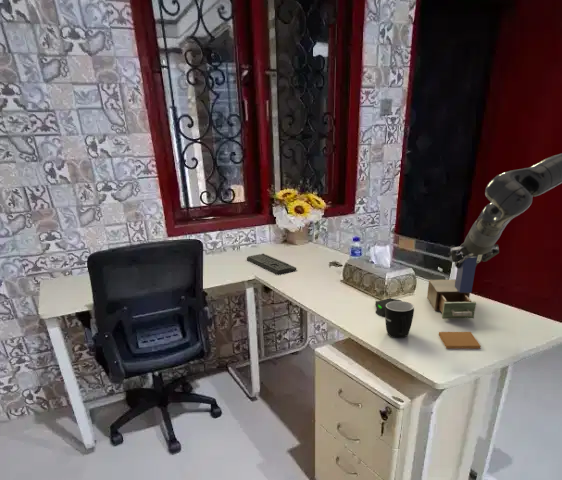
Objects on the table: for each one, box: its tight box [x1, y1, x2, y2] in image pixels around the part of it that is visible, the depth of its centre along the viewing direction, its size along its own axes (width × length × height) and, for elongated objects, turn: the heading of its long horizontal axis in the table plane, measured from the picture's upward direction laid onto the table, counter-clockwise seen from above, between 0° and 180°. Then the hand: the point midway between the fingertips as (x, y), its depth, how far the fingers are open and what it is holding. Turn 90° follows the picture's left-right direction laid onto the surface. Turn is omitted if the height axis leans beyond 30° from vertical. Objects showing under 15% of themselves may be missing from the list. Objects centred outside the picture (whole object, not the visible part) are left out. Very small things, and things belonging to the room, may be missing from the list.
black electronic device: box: [374, 297, 402, 318], centre depth 156 cm, size 11×16×4 cm
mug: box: [384, 300, 415, 339], centre depth 135 cm, size 12×9×10 cm
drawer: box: [438, 293, 477, 320], centre depth 147 cm, size 17×10×6 cm, turn 174°
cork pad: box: [438, 331, 481, 350], centre depth 131 cm, size 10×10×1 cm
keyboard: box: [246, 253, 297, 275], centre depth 220 cm, size 35×11×2 cm, turn 30°
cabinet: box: [426, 279, 471, 312], centre depth 158 cm, size 14×12×8 cm
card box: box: [455, 256, 477, 293], centre depth 128 cm, size 4×6×11 cm, turn 174°
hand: (464, 265), depth 129 cm, fingers closed on card box, 3 cm apart
